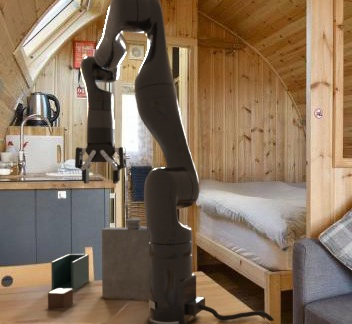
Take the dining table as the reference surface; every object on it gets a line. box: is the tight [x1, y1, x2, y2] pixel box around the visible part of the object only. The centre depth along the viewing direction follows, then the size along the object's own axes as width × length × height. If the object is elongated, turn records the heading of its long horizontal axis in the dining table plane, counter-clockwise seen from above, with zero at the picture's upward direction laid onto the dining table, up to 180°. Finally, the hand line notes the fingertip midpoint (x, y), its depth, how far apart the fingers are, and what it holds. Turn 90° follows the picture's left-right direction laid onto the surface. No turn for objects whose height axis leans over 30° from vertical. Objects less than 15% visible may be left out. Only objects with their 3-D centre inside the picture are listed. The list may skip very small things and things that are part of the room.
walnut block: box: [47, 288, 74, 310], centre depth 109 cm, size 4×4×4 cm
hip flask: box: [101, 217, 150, 302], centre depth 116 cm, size 16×4×20 cm, turn 81°
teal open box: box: [50, 253, 90, 292], centre depth 127 cm, size 10×6×8 cm, turn 177°
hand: (101, 183), depth 133 cm, fingers open, 8 cm apart
